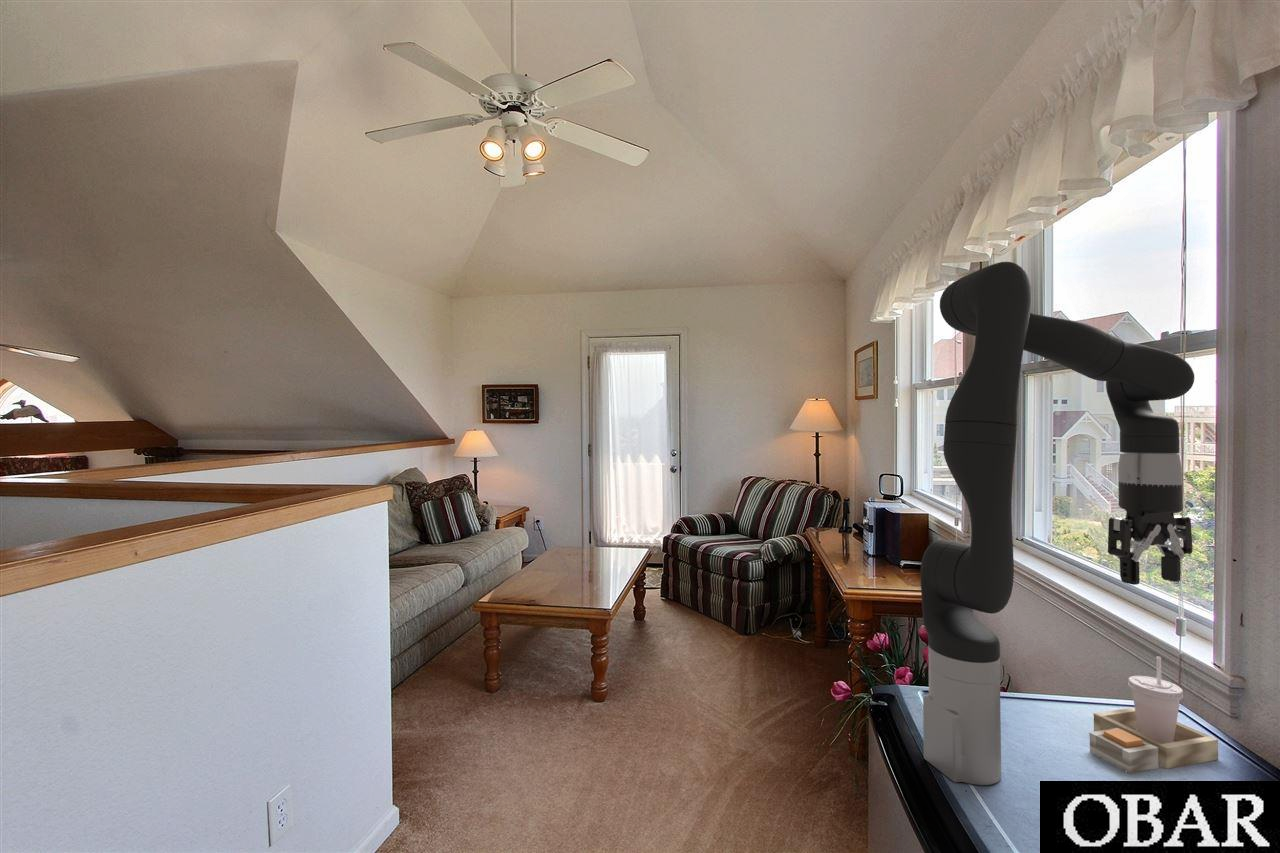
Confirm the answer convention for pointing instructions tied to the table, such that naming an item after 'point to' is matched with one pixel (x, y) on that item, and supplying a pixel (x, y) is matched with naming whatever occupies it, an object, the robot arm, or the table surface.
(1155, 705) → the smoothie
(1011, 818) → the table surface
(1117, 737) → the button
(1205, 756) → the station
